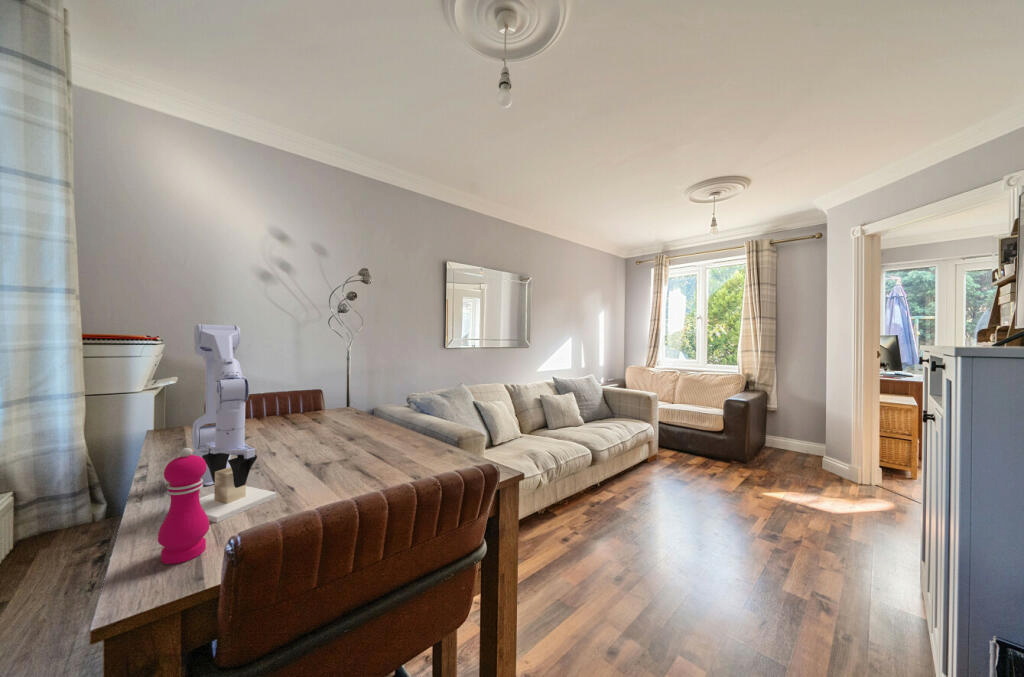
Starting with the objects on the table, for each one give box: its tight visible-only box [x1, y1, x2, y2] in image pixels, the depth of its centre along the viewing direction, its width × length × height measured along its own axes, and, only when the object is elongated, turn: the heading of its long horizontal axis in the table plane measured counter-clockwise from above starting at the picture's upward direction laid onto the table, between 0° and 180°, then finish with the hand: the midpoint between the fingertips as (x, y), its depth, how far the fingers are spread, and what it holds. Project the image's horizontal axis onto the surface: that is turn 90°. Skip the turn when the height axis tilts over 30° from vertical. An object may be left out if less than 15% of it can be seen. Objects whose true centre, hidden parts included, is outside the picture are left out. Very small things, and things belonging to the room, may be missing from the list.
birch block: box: [213, 466, 247, 504], centre depth 90 cm, size 4×4×7 cm
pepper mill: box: [157, 447, 210, 565], centre depth 69 cm, size 7×7×20 cm
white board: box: [199, 485, 278, 523], centre depth 89 cm, size 14×14×1 cm
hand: (229, 483), depth 90 cm, fingers open, 7 cm apart
